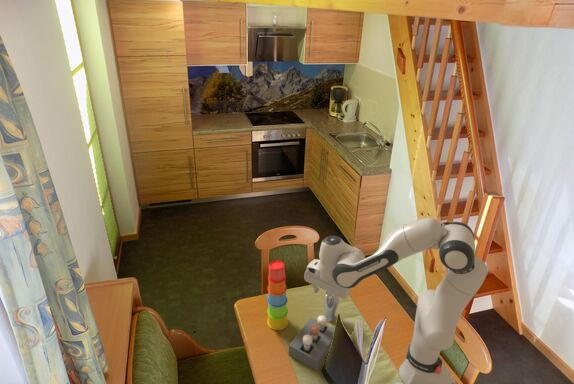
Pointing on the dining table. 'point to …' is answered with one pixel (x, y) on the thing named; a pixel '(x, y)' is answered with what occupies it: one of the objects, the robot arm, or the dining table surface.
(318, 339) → the console
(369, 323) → the dining table surface
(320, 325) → the knob
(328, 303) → the beer glass
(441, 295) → the robot arm
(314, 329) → the knob mid
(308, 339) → the knob
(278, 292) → the stacking cups
